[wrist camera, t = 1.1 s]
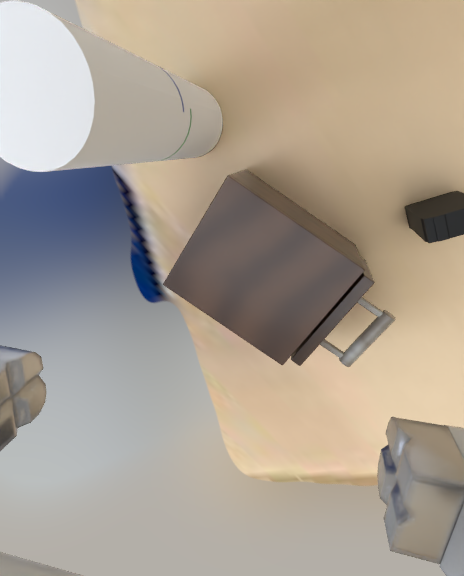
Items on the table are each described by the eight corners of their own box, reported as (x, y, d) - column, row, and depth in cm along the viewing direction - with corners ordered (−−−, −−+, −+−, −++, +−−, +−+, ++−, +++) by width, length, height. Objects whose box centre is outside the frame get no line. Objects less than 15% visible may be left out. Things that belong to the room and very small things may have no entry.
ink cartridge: (408, 227, 40) (428, 245, 32) (403, 206, 39) (423, 220, 32) (460, 212, 38) (493, 228, 31) (456, 190, 38) (489, 201, 30)
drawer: (401, 284, 41) (417, 311, 34) (334, 355, 46) (337, 391, 39) (263, 189, 40) (252, 198, 34) (210, 270, 45) (191, 292, 38)
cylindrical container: (212, 75, 38) (57, -28, 16) (230, 147, 41) (116, 149, 18) (150, 97, 40) (-67, 34, 18) (170, 165, 43) (-1, 187, 20)
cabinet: (355, 244, 41) (365, 269, 33) (288, 326, 46) (282, 365, 38) (246, 169, 41) (227, 175, 33) (190, 259, 46) (162, 284, 38)
